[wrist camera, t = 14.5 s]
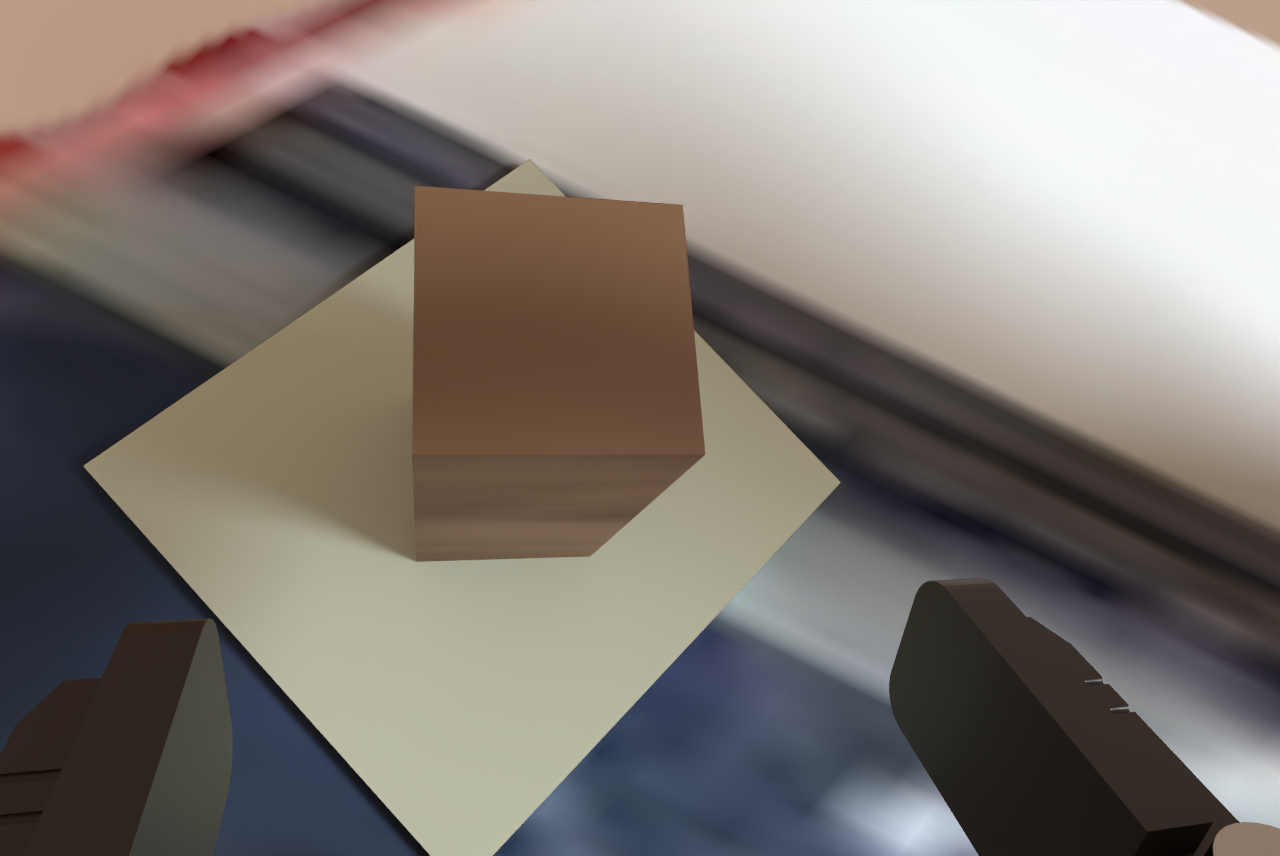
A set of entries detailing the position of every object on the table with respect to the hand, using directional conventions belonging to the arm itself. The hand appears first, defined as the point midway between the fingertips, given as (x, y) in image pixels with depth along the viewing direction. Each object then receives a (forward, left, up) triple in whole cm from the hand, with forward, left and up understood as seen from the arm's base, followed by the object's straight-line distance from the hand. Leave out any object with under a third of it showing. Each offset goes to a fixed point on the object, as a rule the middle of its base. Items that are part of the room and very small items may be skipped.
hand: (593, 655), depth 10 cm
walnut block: (-3, -4, -10) cm, 11 cm away
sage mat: (-3, -4, -10) cm, 11 cm away
